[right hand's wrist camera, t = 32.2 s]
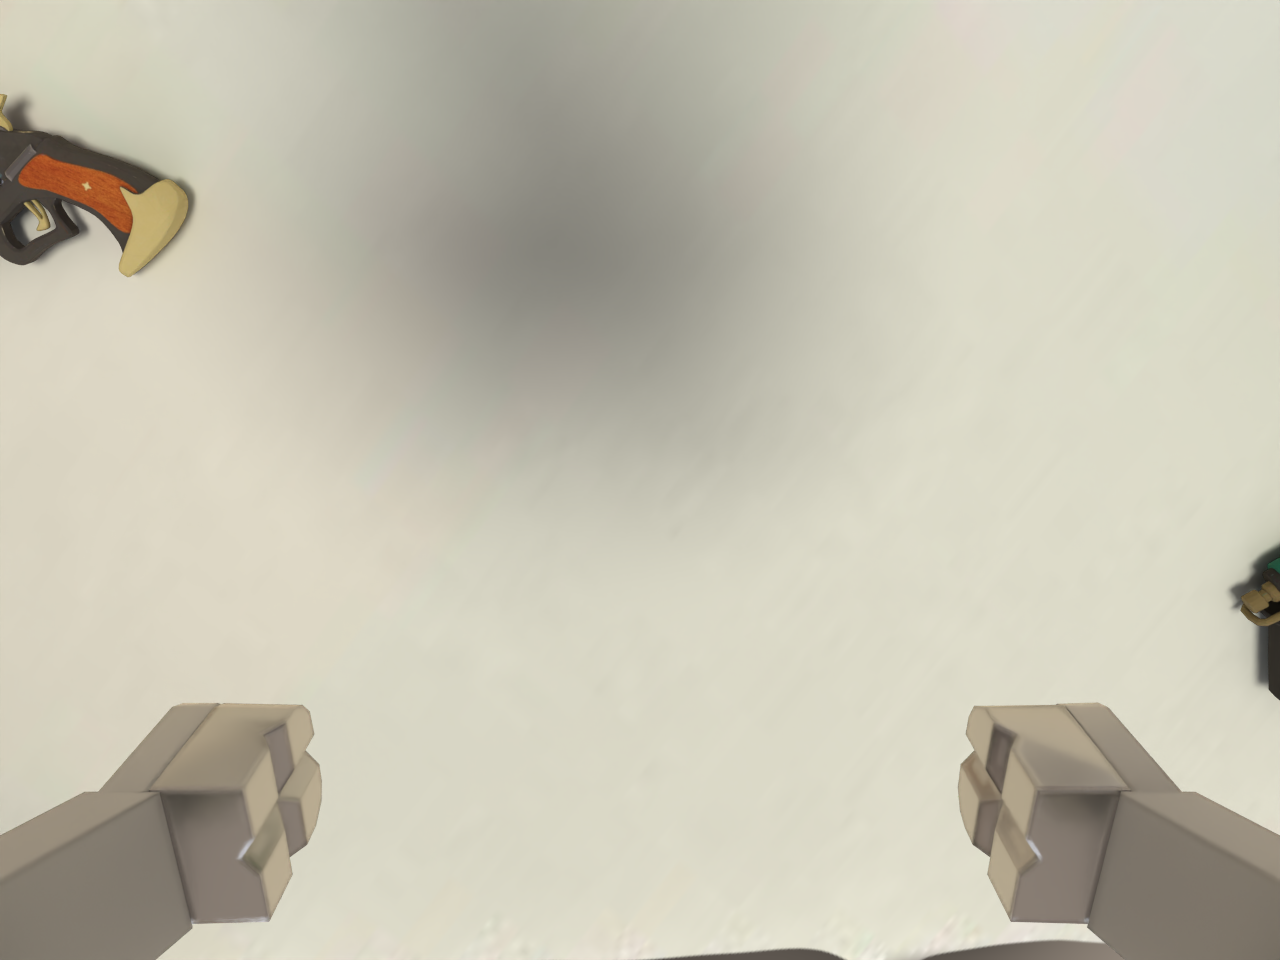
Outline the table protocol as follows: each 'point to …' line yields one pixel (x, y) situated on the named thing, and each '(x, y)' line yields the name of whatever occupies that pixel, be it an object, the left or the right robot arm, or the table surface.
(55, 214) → the toy gun
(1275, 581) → the spray gun
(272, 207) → the table surface
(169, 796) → the right robot arm
